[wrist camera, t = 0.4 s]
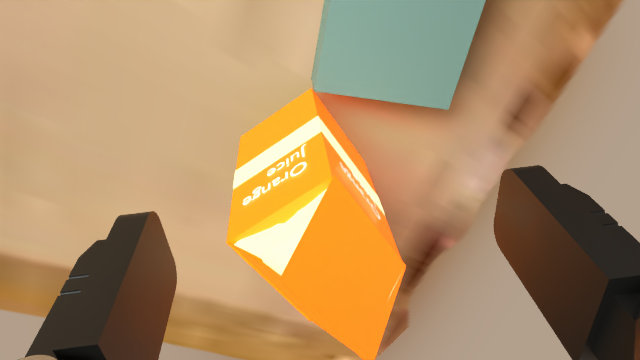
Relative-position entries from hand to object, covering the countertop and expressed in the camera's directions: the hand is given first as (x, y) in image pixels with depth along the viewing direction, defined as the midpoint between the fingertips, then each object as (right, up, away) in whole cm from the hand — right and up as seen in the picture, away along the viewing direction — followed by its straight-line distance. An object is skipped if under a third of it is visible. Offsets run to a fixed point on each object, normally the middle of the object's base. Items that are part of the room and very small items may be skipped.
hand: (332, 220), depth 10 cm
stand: (+5, +13, +24) cm, 28 cm away
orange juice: (-2, +4, +29) cm, 30 cm away
